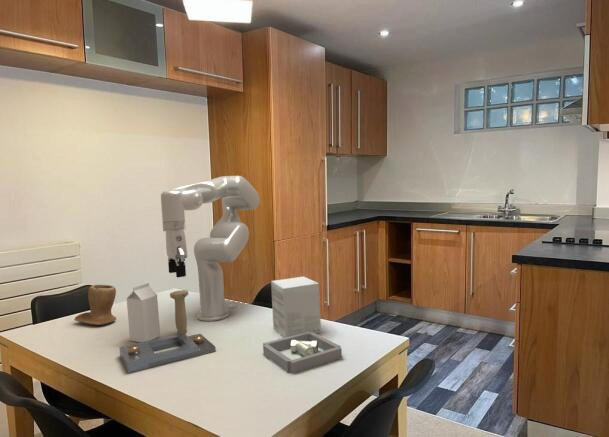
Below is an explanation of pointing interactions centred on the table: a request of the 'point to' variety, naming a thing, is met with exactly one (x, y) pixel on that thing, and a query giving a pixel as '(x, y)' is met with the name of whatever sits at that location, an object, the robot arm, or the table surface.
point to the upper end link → (142, 353)
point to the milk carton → (143, 314)
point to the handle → (180, 310)
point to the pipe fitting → (304, 347)
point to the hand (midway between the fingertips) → (177, 274)
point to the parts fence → (296, 365)
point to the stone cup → (99, 305)
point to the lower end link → (198, 339)
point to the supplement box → (295, 306)
